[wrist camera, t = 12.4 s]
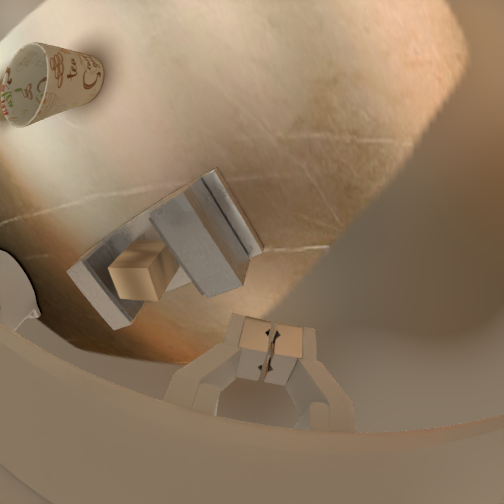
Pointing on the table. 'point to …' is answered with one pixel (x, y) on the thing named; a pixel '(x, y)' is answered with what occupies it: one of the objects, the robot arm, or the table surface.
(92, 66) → the mug
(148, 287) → the block
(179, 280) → the vise base
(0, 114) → the flower pot
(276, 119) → the table surface
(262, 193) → the table surface
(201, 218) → the block
